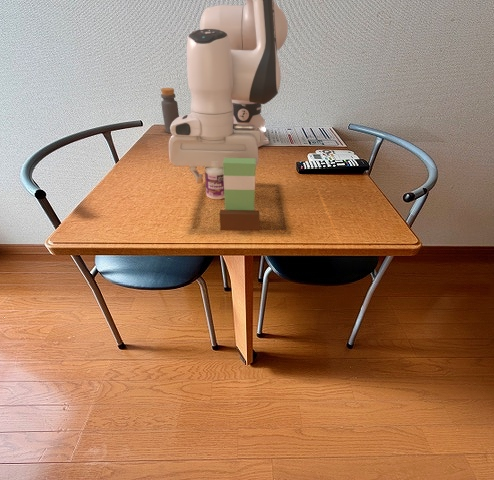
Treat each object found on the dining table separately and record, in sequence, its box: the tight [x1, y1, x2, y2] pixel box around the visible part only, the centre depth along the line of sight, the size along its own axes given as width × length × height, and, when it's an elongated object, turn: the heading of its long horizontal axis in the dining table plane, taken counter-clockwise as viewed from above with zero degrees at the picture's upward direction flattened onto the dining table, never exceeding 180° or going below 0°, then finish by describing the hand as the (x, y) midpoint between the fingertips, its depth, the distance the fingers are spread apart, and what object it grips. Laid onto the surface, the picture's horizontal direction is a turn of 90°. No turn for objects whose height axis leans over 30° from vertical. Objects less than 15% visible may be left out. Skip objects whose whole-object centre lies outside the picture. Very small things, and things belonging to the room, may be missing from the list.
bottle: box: [160, 87, 180, 134], centre depth 109 cm, size 6×6×15 cm
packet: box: [223, 158, 257, 210], centre depth 58 cm, size 2×6×14 cm, turn 91°
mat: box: [192, 183, 287, 232], centre depth 68 cm, size 22×20×5 cm
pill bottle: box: [204, 161, 225, 201], centre depth 69 cm, size 5×5×10 cm
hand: (216, 182), depth 70 cm, fingers open, 7 cm apart
